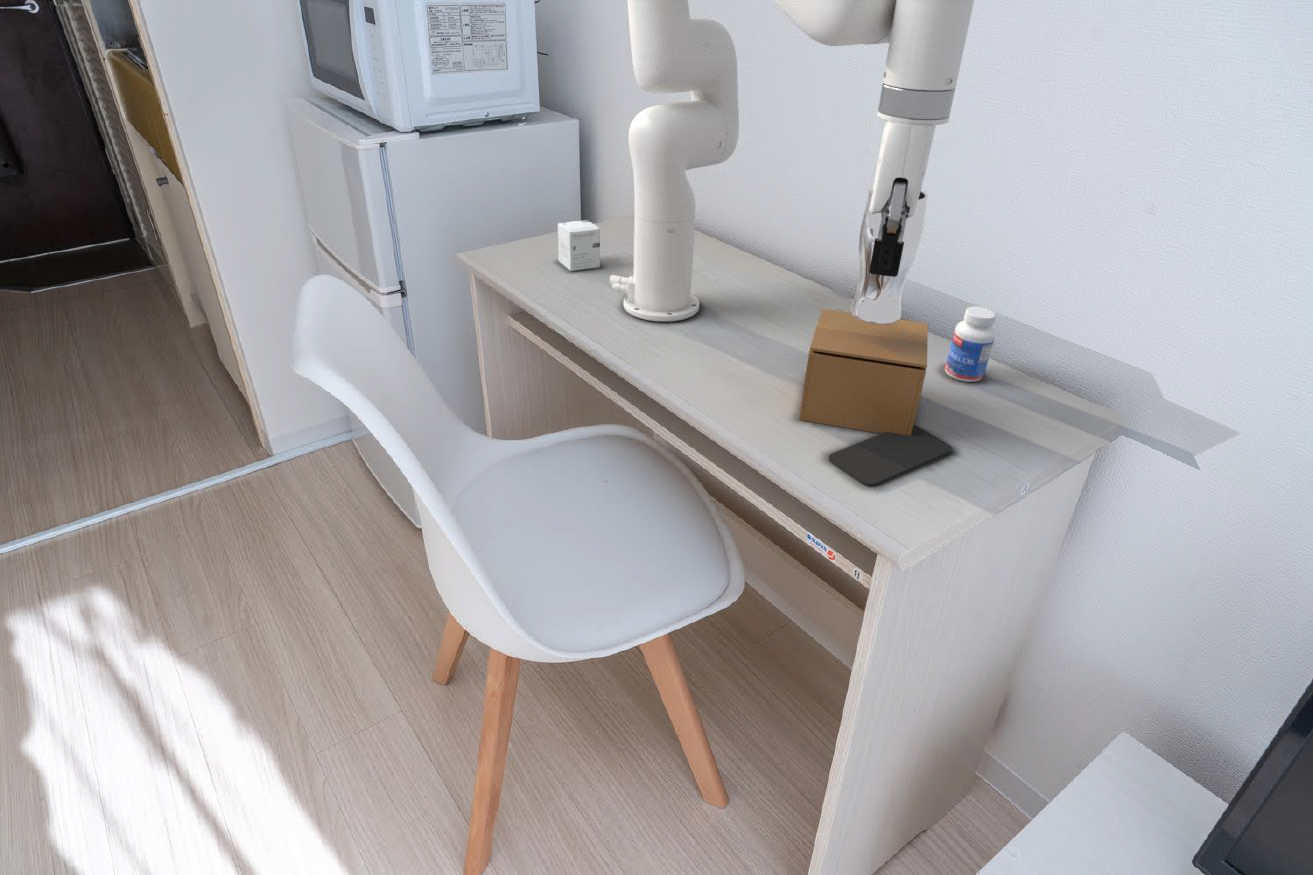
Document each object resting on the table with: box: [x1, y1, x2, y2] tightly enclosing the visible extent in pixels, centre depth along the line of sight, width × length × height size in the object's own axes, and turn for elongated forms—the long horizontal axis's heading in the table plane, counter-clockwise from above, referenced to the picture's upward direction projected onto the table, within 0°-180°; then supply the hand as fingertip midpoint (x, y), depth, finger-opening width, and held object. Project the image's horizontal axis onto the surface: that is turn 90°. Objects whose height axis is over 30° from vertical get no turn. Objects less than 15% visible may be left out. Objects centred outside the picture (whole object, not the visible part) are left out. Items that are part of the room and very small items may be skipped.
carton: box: [798, 326, 928, 436], centre depth 105 cm, size 13×14×10 cm
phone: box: [828, 424, 953, 488], centre depth 97 cm, size 7×1×15 cm
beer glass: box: [849, 185, 929, 325], centre depth 95 cm, size 7×7×15 cm
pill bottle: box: [944, 306, 997, 383], centre depth 113 cm, size 6×5×10 cm
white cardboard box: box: [557, 219, 601, 272], centre depth 147 cm, size 6×6×7 cm
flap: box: [816, 308, 929, 344], centre depth 105 cm, size 6×14×1 cm, turn 73°
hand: (885, 262), depth 95 cm, fingers closed on beer glass, 7 cm apart
